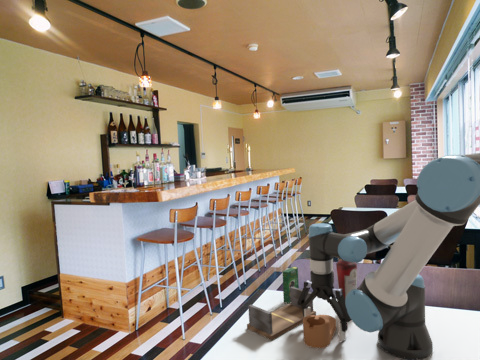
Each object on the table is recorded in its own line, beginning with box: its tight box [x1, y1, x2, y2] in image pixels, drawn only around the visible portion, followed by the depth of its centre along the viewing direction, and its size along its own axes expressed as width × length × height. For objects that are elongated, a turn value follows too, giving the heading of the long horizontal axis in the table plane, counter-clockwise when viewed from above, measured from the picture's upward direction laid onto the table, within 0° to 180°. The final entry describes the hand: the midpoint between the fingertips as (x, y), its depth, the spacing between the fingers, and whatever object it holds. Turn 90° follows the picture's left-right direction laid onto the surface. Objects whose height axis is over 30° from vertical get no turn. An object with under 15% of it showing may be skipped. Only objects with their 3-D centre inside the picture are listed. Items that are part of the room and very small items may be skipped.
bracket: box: [302, 314, 337, 349], centre depth 117 cm, size 18×8×7 cm, turn 154°
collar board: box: [246, 287, 317, 341], centre depth 126 cm, size 12×24×8 cm, turn 132°
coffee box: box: [282, 266, 300, 304], centre depth 145 cm, size 8×3×13 cm, turn 138°
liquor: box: [335, 259, 358, 299], centre depth 129 cm, size 7×7×28 cm
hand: (324, 333), depth 117 cm, fingers open, 13 cm apart
